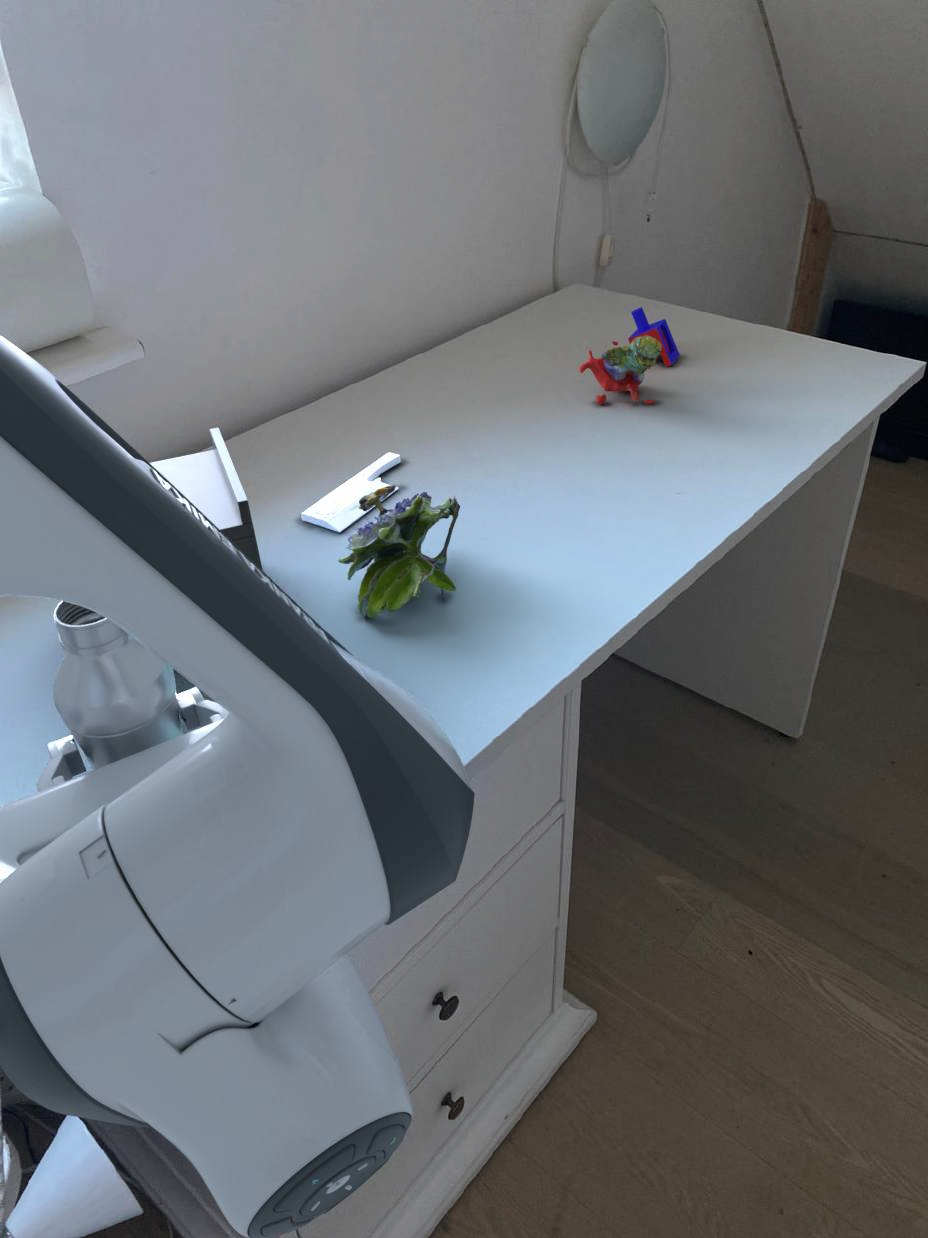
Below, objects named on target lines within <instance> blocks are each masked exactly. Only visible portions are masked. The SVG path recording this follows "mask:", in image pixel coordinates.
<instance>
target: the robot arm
mask: <svg viewBox="0 0 928 1238" xmlns="http://www.w3.org/2000/svg"><path fill="white" fill-rule="evenodd" d="M150 463H151V462H149V461H148V459H146V458H145V457H144V456H143V455H142V454H141V453H140V452H139V451H138V450H136V449H135V448H134V447H133V446H132V445H131V444H130V443H129V442H127V440H126V439H125V438H123V436H121V435H120V434H119V433H118V432H117V431H116V430H114V429H113V427H111V426H110V425H109V424H108V423H107V422H106V421H105V420H104V419H102V417H101V416H99V415H98V413H96V412H95V410H92V409H91V407H89V406H88V405H87V404H86V403H85V402H84V401H83V400H82V399H80V397H79V396H78V395H76V394H75V393H74V392H73V391H72V390H71V389H70V388H68V386H66V385H65V384H64V383H63V382H62V381H60V380H59V379H58V378H57V377H56V376H55V375H53V373H51V372H50V371H48V369H46V368H45V367H44V366H42V365H41V364H40V363H39V362H38V361H36V360H35V359H34V358H33V357H31V356H30V355H28V354H27V352H24V351H23V350H22V349H20V348H19V347H18V346H17V345H15V344H14V343H12V342H11V341H9V340H8V339H7V338H5V337H4V336H2V335H1V334H0V598H5V597H8V598H9V597H15V598H17V597H21V598H39V599H46V600H53V601H59V602H61V601H64V602H68V603H71V604H75V605H78V606H82V607H84V608H87V609H89V610H92V611H94V612H96V613H98V614H100V615H102V616H103V617H105V618H107V619H108V620H110V621H111V622H113V623H114V624H116V625H117V626H119V627H120V628H121V629H123V630H124V631H125V632H127V633H128V634H129V635H130V636H132V637H133V638H134V639H136V640H137V641H138V642H139V643H141V644H142V645H143V646H145V647H146V648H147V649H148V650H150V651H151V652H152V653H154V654H155V655H156V656H157V657H159V658H160V659H161V660H163V661H164V662H165V663H166V664H168V665H169V666H170V667H172V668H173V671H175V672H177V673H178V674H179V675H181V676H182V677H183V678H184V679H185V680H187V681H188V682H190V683H191V684H192V685H194V687H193V686H192V687H191V688H188V689H186V690H183V691H182V692H179V693H177V701H178V710H179V718H180V721H182V723H183V726H184V728H185V730H186V731H187V732H186V733H183V735H181V736H178V737H176V738H173V739H171V740H168V741H166V742H163V743H161V744H158V745H156V746H153V747H151V748H148V749H146V750H143V751H141V752H138V753H136V754H133V755H131V756H128V757H126V758H123V759H121V760H118V761H116V762H113V763H111V764H108V765H106V766H103V767H101V768H98V769H96V770H91V771H88V772H87V769H86V766H85V763H84V760H83V758H82V756H81V753H80V750H79V748H78V745H77V741H76V740H75V738H74V737H73V735H72V734H71V733H70V734H68V735H65V736H63V737H60V738H56V739H55V740H51V741H48V742H46V743H45V746H46V748H47V751H48V754H49V757H50V760H48V762H47V763H46V766H45V768H44V769H43V771H42V773H41V776H40V777H39V779H38V781H37V783H36V788H37V792H36V793H33V794H30V795H28V796H25V797H23V798H21V799H18V800H16V801H12V802H10V803H8V804H5V805H2V806H0V1067H1V1069H2V1070H3V1073H5V1075H6V1077H7V1078H8V1079H9V1081H10V1082H11V1083H12V1084H13V1086H14V1087H15V1088H16V1089H17V1090H18V1091H19V1092H20V1093H21V1094H23V1095H24V1096H25V1097H27V1098H28V1099H30V1100H31V1101H33V1102H35V1103H36V1104H38V1105H39V1106H42V1107H43V1108H45V1109H47V1110H50V1111H52V1112H54V1113H57V1114H61V1115H63V1116H71V1117H74V1118H75V1117H76V1118H81V1119H82V1118H83V1119H88V1120H94V1121H100V1122H104V1123H110V1124H117V1125H123V1126H128V1127H136V1128H137V1127H138V1128H153V1129H154V1130H155V1131H156V1132H158V1133H159V1134H160V1135H162V1136H163V1137H164V1138H165V1139H166V1140H168V1141H169V1142H170V1143H171V1144H172V1145H173V1146H175V1148H176V1149H178V1150H179V1151H180V1153H181V1154H182V1155H183V1156H184V1157H186V1159H188V1161H189V1162H190V1163H191V1165H193V1167H194V1168H195V1169H194V1170H196V1171H197V1173H198V1174H199V1176H200V1178H201V1179H202V1181H203V1182H204V1184H205V1185H206V1187H207V1189H208V1191H209V1192H210V1194H211V1196H212V1198H213V1199H214V1201H215V1203H216V1204H217V1206H218V1208H219V1210H220V1211H221V1213H222V1214H223V1217H224V1218H225V1219H226V1221H227V1222H228V1223H229V1225H230V1226H231V1228H233V1230H235V1231H236V1232H237V1233H238V1234H239V1235H241V1236H243V1237H245V1238H277V1237H281V1236H284V1235H287V1234H289V1233H292V1232H294V1231H296V1230H299V1229H302V1228H303V1227H306V1226H308V1225H309V1224H310V1223H311V1222H312V1221H314V1220H315V1219H317V1218H318V1217H320V1216H322V1215H325V1214H327V1213H329V1212H330V1211H331V1210H332V1209H334V1208H335V1207H336V1206H338V1205H339V1204H340V1203H342V1202H343V1201H344V1200H346V1199H347V1198H348V1197H349V1196H351V1195H352V1194H353V1193H354V1192H356V1190H358V1189H359V1188H360V1187H362V1185H364V1184H365V1183H366V1182H367V1181H368V1180H369V1179H371V1177H372V1176H374V1175H375V1174H376V1173H377V1172H378V1171H379V1170H380V1169H381V1168H382V1167H384V1166H385V1165H386V1164H387V1163H388V1161H389V1160H390V1159H391V1157H392V1156H393V1154H394V1152H395V1151H397V1149H398V1148H399V1147H400V1146H401V1144H402V1142H403V1141H404V1139H405V1135H406V1134H407V1131H408V1129H409V1128H410V1126H411V1123H412V1120H413V1117H414V1116H413V1115H414V1108H413V1103H412V1099H411V1095H410V1091H409V1088H408V1084H407V1081H406V1079H405V1076H404V1073H403V1069H402V1067H401V1064H400V1061H399V1059H398V1057H397V1054H396V1052H395V1049H394V1047H393V1044H392V1042H391V1040H390V1037H389V1034H388V1032H387V1029H386V1027H385V1025H384V1023H383V1020H382V1018H381V1016H380V1014H379V1012H378V1010H377V1007H376V1005H375V1003H374V1001H373V999H372V996H371V995H370V993H369V991H368V989H367V987H366V985H365V983H364V981H363V979H362V977H361V974H360V973H359V971H358V970H357V967H356V966H355V964H354V962H353V960H352V958H351V957H350V955H349V954H348V953H350V952H351V951H352V950H353V949H354V948H355V947H357V946H358V945H360V944H361V943H363V941H365V940H366V939H367V938H368V937H370V936H371V935H372V934H374V933H375V932H376V931H378V929H380V928H381V927H382V926H385V925H386V926H390V925H391V924H393V923H394V922H396V921H397V920H399V919H401V918H402V917H403V916H405V915H406V914H408V913H409V912H412V911H413V910H414V909H416V908H417V907H418V906H420V905H421V904H423V903H424V902H426V901H428V900H429V899H430V898H432V897H434V896H435V895H436V894H438V893H440V892H441V891H443V890H444V889H446V888H447V887H449V886H450V885H452V884H453V883H455V882H456V881H457V880H458V879H457V878H458V876H459V872H460V869H461V866H462V863H463V859H464V856H465V852H466V849H467V844H468V840H469V836H470V831H471V827H472V820H473V815H474V806H475V795H476V794H475V792H474V790H473V789H472V787H471V786H470V781H469V777H468V774H467V771H466V769H465V766H464V763H463V761H462V759H461V757H460V755H459V753H458V751H457V750H456V748H455V746H454V744H453V743H452V741H451V740H450V738H449V736H448V735H447V734H446V733H445V731H444V729H443V728H442V727H441V725H440V724H439V723H438V722H437V721H436V719H435V718H434V716H432V715H431V714H430V713H429V712H428V711H427V710H426V709H427V708H425V707H424V706H423V705H422V704H421V703H420V702H419V701H418V700H417V699H416V698H415V697H414V696H412V695H411V694H410V693H409V692H408V691H407V690H406V689H404V688H403V687H401V686H400V685H398V683H396V682H395V681H394V680H393V679H391V678H389V677H388V676H386V675H385V674H383V673H381V672H380V671H379V670H377V669H375V668H374V667H372V666H370V665H369V664H367V663H365V662H364V661H363V660H360V659H359V658H358V657H356V656H355V655H354V654H353V653H351V652H350V651H349V650H348V649H347V648H346V647H345V646H343V645H342V643H340V642H339V641H338V640H337V639H335V637H333V636H332V635H331V634H330V633H329V631H326V629H325V628H324V627H323V626H321V625H320V623H318V622H317V621H316V620H315V619H313V617H311V615H310V614H308V612H307V611H305V610H304V609H303V608H302V607H301V606H300V605H299V604H298V603H297V602H296V601H295V600H294V599H293V598H292V597H291V596H290V595H289V594H287V593H286V592H285V591H284V589H282V588H281V587H280V586H279V585H278V584H277V583H276V582H275V581H274V580H273V579H272V578H271V577H270V576H269V575H267V574H266V572H265V571H264V570H263V571H262V570H261V569H260V568H259V567H258V566H257V565H256V564H255V563H254V562H253V561H252V560H251V559H250V558H249V557H248V556H247V555H246V554H244V553H243V552H242V551H241V550H240V549H239V548H238V547H237V546H236V545H235V544H234V543H233V542H232V541H231V540H230V539H229V538H228V537H227V536H226V535H225V534H224V533H223V532H222V531H221V530H219V529H218V528H217V527H216V526H215V525H214V524H213V523H212V522H211V521H210V520H209V519H208V518H207V517H206V516H205V515H204V514H203V513H202V512H201V511H200V510H199V509H198V508H197V507H195V506H194V505H193V504H192V503H191V502H190V501H189V500H188V499H187V498H186V497H185V496H184V495H183V494H182V493H181V492H180V491H179V490H178V489H177V488H176V487H175V486H174V485H172V484H171V483H170V482H169V481H168V480H167V479H166V478H165V477H164V476H163V475H162V474H161V473H160V472H159V471H158V470H157V469H155V468H154V467H153V466H152V465H151V464H150ZM201 692H202V693H204V694H205V695H206V696H207V697H209V698H210V699H211V700H209V699H205V698H204V696H203V695H202V693H201ZM212 700H213V701H212Z"/></svg>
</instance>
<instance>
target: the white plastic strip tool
mask: <svg viewBox="0 0 928 1238" xmlns="http://www.w3.org/2000/svg"><path fill="white" fill-rule="evenodd" d="M401 462H402V460H401V455H400V454H397V453H394V452H390V451H389V452H387V453H385V454H384V455H383V456H381V457H380V458H378V459H377V460H376V461H374V462H372V463H371V464H370V465H368V466H367V467H365V468H364V469H362V470H361V471H360V472H358V473H357V474H355V475H354V476H353V477H351V478H349V479H348V480H346V481H345V482H343V483H342V484H341V485H339V486H337V487H336V488H334V489H333V490H332V491H330V492H329V493H327V494H326V495H324V496H323V497H321V498H320V499H319V500H318V501H317V502H316V503H314V504H312V505H311V506H309V507H308V508H307V509H305V510H304V511H303V512H301V513H300V516H301V521H304V522H307V523H310V524H313V525H316V526H319V527H321V528H325V529H327V530H331V531H334V532H337V533H341V532H342V531H344V530H345V529H347V528H348V527H350V526H351V525H352V524H353V523H355V522H356V521H358V520H359V519H360V518H361V517H363V516H364V515H365V514H367V513H368V512H370V511H371V510H372V509H373V508H375V507H376V506H375V505H374V506H373V507H372V508H370V509H369V510H367V511H363V510H362V509H359V508H358V507H359V506H360V504H359V500H360V499H361V498H362V497H364V496H365V495H369V494H370V493H371V492H373V493H374V492H375V491H376V490H377V489H380V488H384V487H387V486H391V485H392V484H388V483H386V482H382V479H381V477H379V476H381V474H383V473H385V472H386V471H388V470H390V469H391V468H392V467H394V466H396V465H398V464H400V463H401ZM398 490H399V487H398V486H396V489H395V490H394V491H393V492H392V493H390V494H389V495H388V496H387V497H386V498H384V499H383V500H381V502H383V501H384V500H385V499H387V498H389V497H390V496H391V495H392V494H393V493H395V492H396V491H398Z"/></svg>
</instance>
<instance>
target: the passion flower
mask: <svg viewBox="0 0 928 1238" xmlns="http://www.w3.org/2000/svg"><path fill="white" fill-rule="evenodd" d="M390 485H391V486H387V487H384V488H380V489H377V490H376V491H375V492H374V493H373V492H371V493H370V494H369V495H365V496H364V497H362V498H361V499H360V500H359V504H360V506H359V507H358V508H359V509H362V510H363V511H367V510H369V509H370V508H372V507H373V506H374V505H375V507H376V508H377V509H378V511H379V514H378V517H376V516H373V517H374V520H371V521H369V520H368V521H367V523H366V522H365V524H363V525H362V526H361V527H358V528H356V530H357V531H356V532H357V533H355V534H351V535H349V537H348V538H347V541H348V543H349V544H348V545H347V547H345V550H346V549H348V550H349V551H352V552H351V553H350V554H349V555H347V556H346V557H342V558H339V559H338V561H337V562H338V563H340V564H343V565H349V564H350V567H349V569H348V572H347V580H348V581H351V579H352V577H353V576H354V575H355V574H356V572H359V571H360V570H363V569H365V568H366V567H367V569H366V573H365V574H364V575H363V578H362V580H361V582H360V587H359V592H358V595H357V597H358V605H357V608H358V611H359V613H360V614H361V615H362V617H364V618H366V616H367V617H368V618H374V617H377V616H379V615H381V614H383V613H384V612H396V611H397V610H399V609H401V608H402V607H404V606H405V605H406V604H407V603H408V602H409V601H410V600H412V597H413V598H415V599H418V598H419V597H420V594H421V588H422V585H423V584H424V581H425V580H427V581H428V582H429V583H431V584H432V585H433V586H434V587H437V588H439V589H440V590H441V598H442V600H445V591H448V592H449V591H450V592H456V590H457V586H455V583H454V582H453V581H452V580H451V578H450V577H449V576H448V575H447V574H446V565H447V562H448V556H447V555H448V554H447V553H448V548H449V545H450V542H451V538H452V535H453V534H452V533H453V531H454V528H455V524H456V522H457V520H458V517H459V513H460V509H461V505H460V504H459V501H458V500H457V498H456V496H455V495H453V496H452V498H451V497H448V498H447V499H446V500H445V501H444V503H442V504H438V505H435V506H433V507H432V506H431V505H432V499H433V498H432V497H433V496H431V495H429V494H428V492H427V491H422V492H421V493H417V494H416V493H415V494H414V495H413V496H412V497H411V499H410V498H409V497H408V498H403V499H402V501H398V502H396V504H395V506H394V507H393V508H391V509H390V508H389V509H387V508H385V507H384V506H383V505H382V501H381V500H383V499H384V498H385V499H387V498H388V497H389V496H390V495H389V494H390V493H392V492H393V491H394V490H395V489H396V487H397V486H396V485H395V484H390ZM393 493H394V492H393ZM393 493H392V494H393ZM388 495H389V496H388ZM387 496H388V497H387ZM386 497H387V498H386ZM385 499H384V500H385ZM384 500H383V501H384ZM373 508H374V507H373ZM373 508H372V509H373ZM369 511H370V510H369ZM450 516H452V519H451V522H450V524H449V527H448V532H447V535H446V538H445V541H444V545H443V548H442V549H441V551H440V552H439V553H438V554H437V555H436V556H435V557H430V556H428V555H425V554H424V553H423V552H422V544H423V542H424V541H425V540H426V536H427V534H428V532H429V530H430V529H431V528H433V526H435V525H436V524H437V523H438V522H439V521H440V520H443V519H446V520H447V519H449V518H450ZM372 561H373V562H372ZM371 562H372V563H371Z"/></svg>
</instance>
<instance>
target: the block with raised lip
mask: <svg viewBox="0 0 928 1238" xmlns="http://www.w3.org/2000/svg"><path fill="white" fill-rule="evenodd" d="M209 433H210V438H211V442H212V447H213V449H210V450H206V451H200V452H195V453H192V454H186V455H182V456H176V457H171V458H167V459H162V460H157V461H152V462H149V463H150V464H151V465H152V466H153V467H154V468H155V469H157V470H158V471H159V472H160V473H161V474H162V475H163V476H164V477H165V478H166V479H167V480H168V481H169V482H170V483H171V484H172V485H174V486H175V487H176V488H177V489H178V490H179V491H180V492H181V493H182V494H183V495H184V496H185V497H186V498H187V499H188V500H189V501H190V502H191V503H192V504H193V505H194V506H195V507H197V508H198V509H199V510H200V511H201V512H202V513H203V514H204V515H205V516H206V517H207V518H208V519H209V520H210V521H211V522H212V523H213V524H214V525H215V526H216V527H217V528H218V529H219V530H221V531H222V532H223V533H224V534H225V535H226V536H227V537H228V538H229V539H230V540H231V541H232V542H233V543H234V544H235V545H236V546H237V547H238V548H239V549H240V550H241V551H242V552H243V553H244V554H246V555H247V556H248V557H249V558H250V559H251V560H252V561H253V562H254V563H255V564H256V565H257V566H258V567H259V568H260V569H261V570H262V571H263V572H264V570H263V569H264V568H263V565H262V561H261V555H260V550H259V546H258V541H257V538H256V532H255V527H254V523H253V518H252V513H251V509H250V503H249V500H248V496H247V494H246V492H245V490H244V486H243V484H242V482H241V480H240V478H239V475H238V473H237V471H236V470H237V469H236V467H235V465H234V463H233V461H232V457H231V455H230V453H229V450H228V447H227V444H226V443H225V440H224V438H223V435H222V433H221V430H220V428H219V427H214V428H210V429H209Z"/></svg>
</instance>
